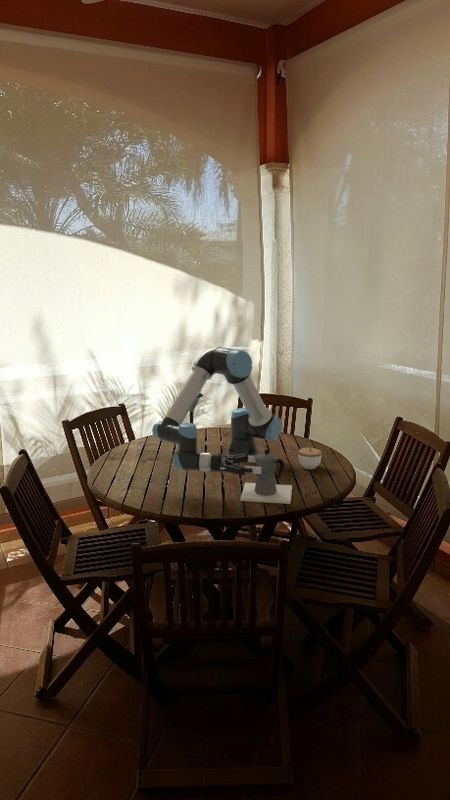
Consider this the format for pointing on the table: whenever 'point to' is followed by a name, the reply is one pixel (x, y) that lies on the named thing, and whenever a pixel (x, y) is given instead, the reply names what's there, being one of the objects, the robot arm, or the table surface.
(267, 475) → the coffeepot
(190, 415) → the solar garden light
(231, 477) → the table surface
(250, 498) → the placemat
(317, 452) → the lidded jar
